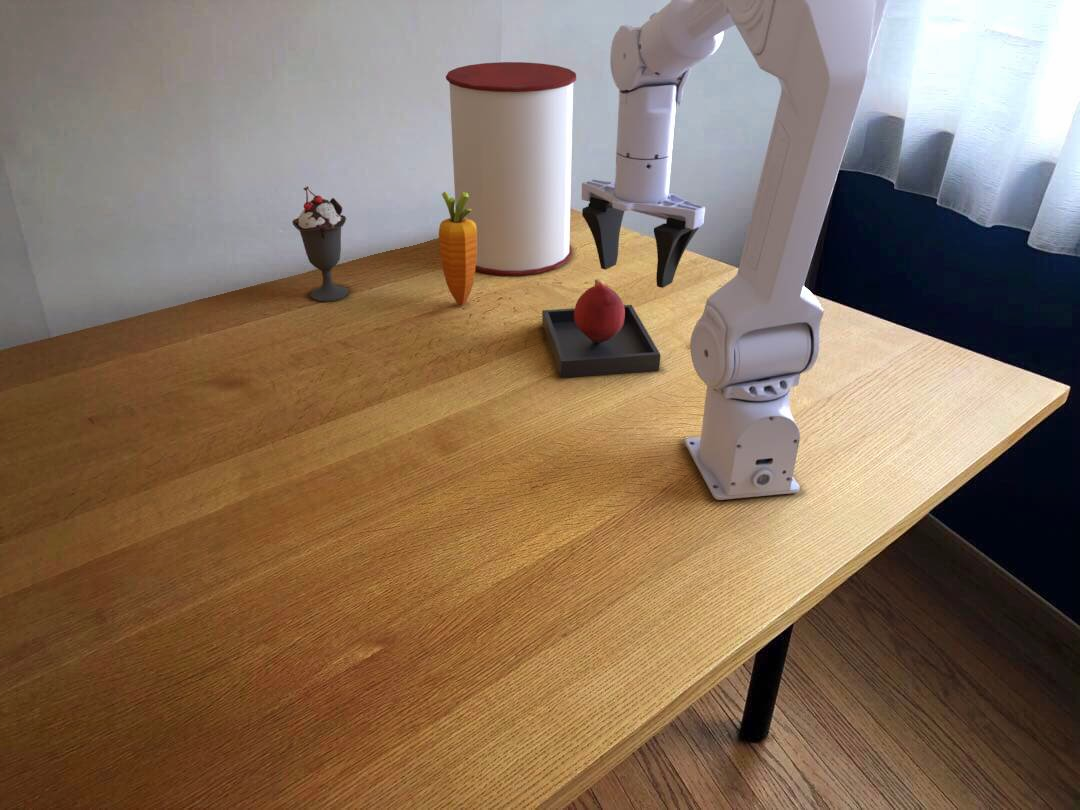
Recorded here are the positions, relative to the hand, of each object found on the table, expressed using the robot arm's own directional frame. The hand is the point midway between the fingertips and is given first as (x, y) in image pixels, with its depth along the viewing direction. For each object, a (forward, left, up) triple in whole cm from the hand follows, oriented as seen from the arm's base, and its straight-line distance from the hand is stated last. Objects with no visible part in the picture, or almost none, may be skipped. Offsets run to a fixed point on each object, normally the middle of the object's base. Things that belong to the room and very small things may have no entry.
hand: (635, 275), depth 96 cm
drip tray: (+1, +4, -9) cm, 10 cm away
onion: (+1, +4, -9) cm, 10 cm away
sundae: (+21, +36, -10) cm, 43 cm away
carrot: (+15, +19, -10) cm, 26 cm away
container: (+32, +10, -10) cm, 35 cm away
